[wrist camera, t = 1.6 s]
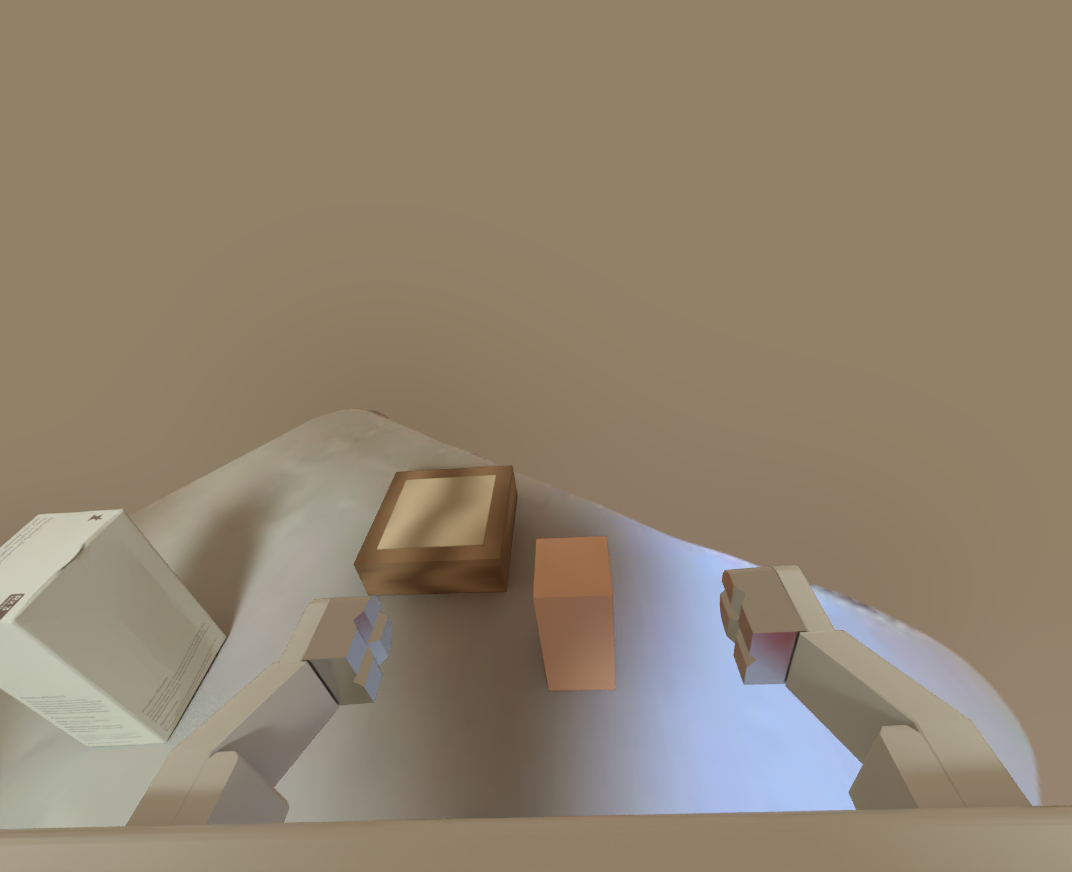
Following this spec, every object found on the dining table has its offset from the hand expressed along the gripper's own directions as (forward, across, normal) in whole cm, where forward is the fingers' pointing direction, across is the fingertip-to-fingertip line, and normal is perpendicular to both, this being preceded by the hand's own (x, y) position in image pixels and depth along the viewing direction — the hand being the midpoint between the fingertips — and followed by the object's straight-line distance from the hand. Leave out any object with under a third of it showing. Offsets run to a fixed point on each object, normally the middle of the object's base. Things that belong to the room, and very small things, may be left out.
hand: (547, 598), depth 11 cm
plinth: (+25, +12, +22) cm, 35 cm away
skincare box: (+11, +32, +22) cm, 40 cm away
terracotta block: (+12, 0, +23) cm, 26 cm away
